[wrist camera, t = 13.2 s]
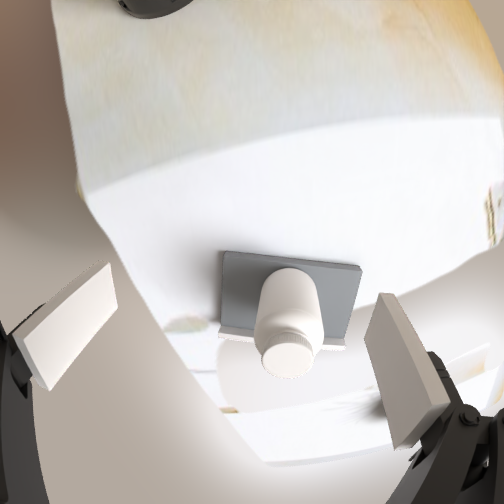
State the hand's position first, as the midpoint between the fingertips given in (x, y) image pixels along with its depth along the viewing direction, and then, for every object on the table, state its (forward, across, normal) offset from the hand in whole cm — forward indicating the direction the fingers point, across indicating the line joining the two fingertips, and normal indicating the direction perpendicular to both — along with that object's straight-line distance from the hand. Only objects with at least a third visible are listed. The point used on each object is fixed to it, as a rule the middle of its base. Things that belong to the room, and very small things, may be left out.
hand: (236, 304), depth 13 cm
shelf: (+27, +4, -16) cm, 31 cm away
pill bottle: (+25, +4, -13) cm, 29 cm away
